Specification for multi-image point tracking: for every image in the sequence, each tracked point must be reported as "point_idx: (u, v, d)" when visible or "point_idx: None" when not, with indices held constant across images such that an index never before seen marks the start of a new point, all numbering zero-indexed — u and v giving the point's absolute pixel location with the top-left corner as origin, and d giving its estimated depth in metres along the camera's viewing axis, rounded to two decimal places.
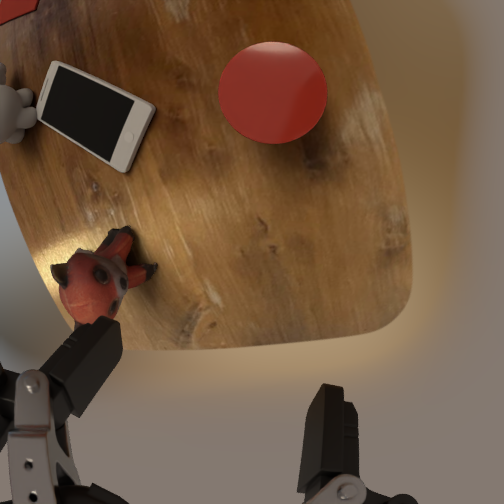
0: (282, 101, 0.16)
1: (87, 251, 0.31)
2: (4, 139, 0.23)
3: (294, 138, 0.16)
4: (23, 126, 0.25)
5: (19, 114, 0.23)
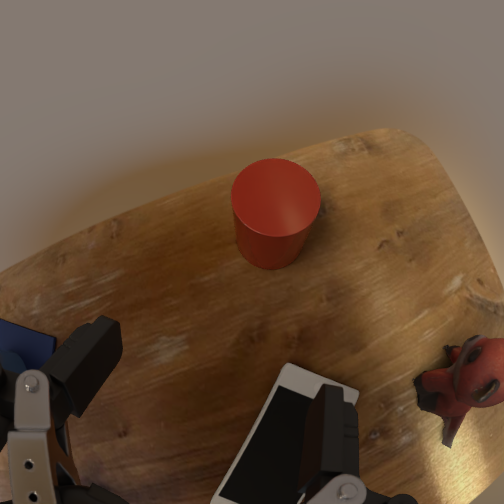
0: (284, 186, 0.21)
1: (444, 432, 0.21)
2: None
3: (311, 176, 0.21)
4: None
5: None
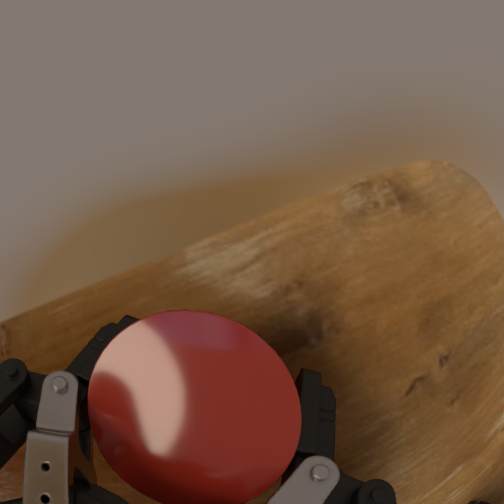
0: (206, 399, 0.07)
1: None
2: None
3: (283, 366, 0.08)
4: None
5: None
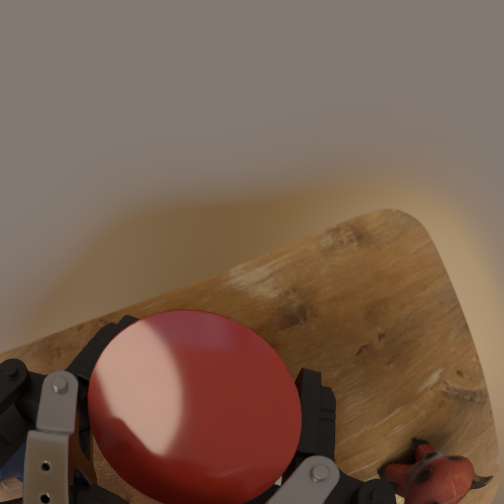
0: (206, 398, 0.07)
1: None
2: None
3: (283, 366, 0.08)
4: None
5: None
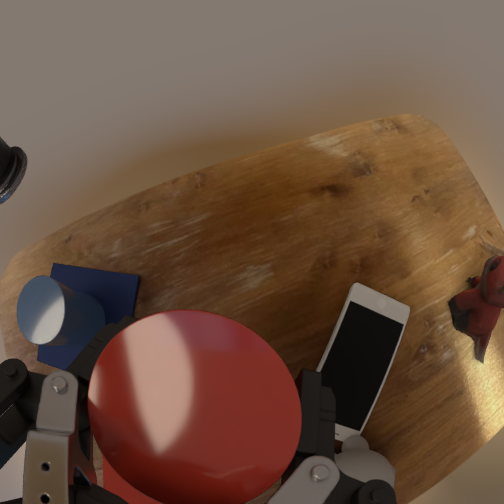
0: (206, 398, 0.07)
1: (476, 350, 0.27)
2: None
3: (283, 366, 0.08)
4: (367, 444, 0.23)
5: (355, 448, 0.22)
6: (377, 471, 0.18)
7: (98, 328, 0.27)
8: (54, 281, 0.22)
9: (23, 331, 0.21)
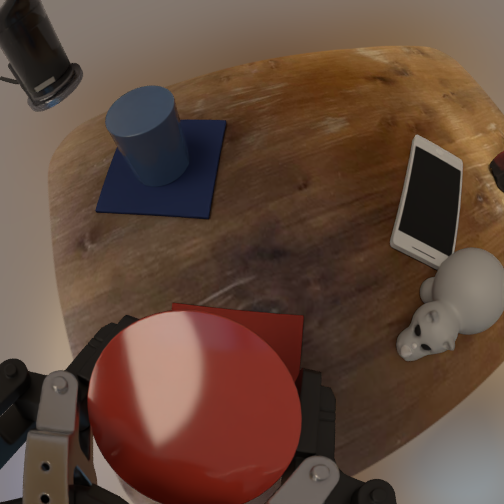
0: (206, 399, 0.07)
1: None
2: None
3: (283, 366, 0.08)
4: None
5: None
6: (491, 255, 0.19)
7: (186, 156, 0.28)
8: (160, 87, 0.23)
9: (113, 130, 0.22)
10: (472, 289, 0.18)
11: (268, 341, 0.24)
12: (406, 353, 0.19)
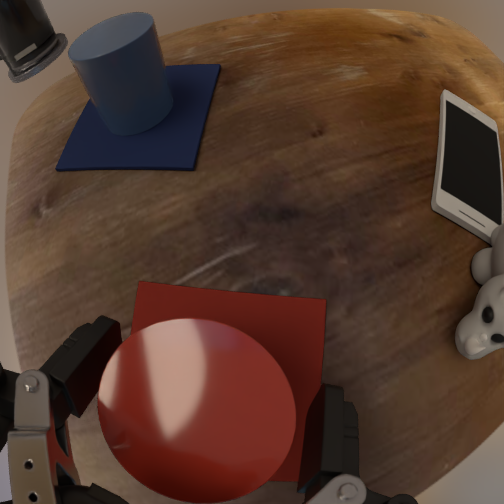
0: (208, 399, 0.08)
1: None
2: None
3: (279, 369, 0.08)
4: None
5: None
6: None
7: (167, 96, 0.20)
8: (139, 12, 0.15)
9: (74, 56, 0.14)
10: None
11: (275, 337, 0.16)
12: (476, 348, 0.12)
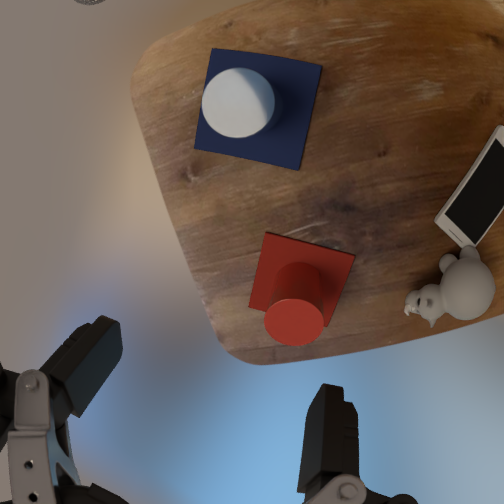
0: (300, 319, 0.31)
1: None
2: None
3: (321, 316, 0.30)
4: (479, 256, 0.29)
5: (473, 257, 0.29)
6: (489, 284, 0.25)
7: (281, 114, 0.29)
8: (257, 73, 0.22)
9: (213, 126, 0.24)
10: (460, 303, 0.27)
11: (327, 267, 0.36)
12: (406, 312, 0.32)
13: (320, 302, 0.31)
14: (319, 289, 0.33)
